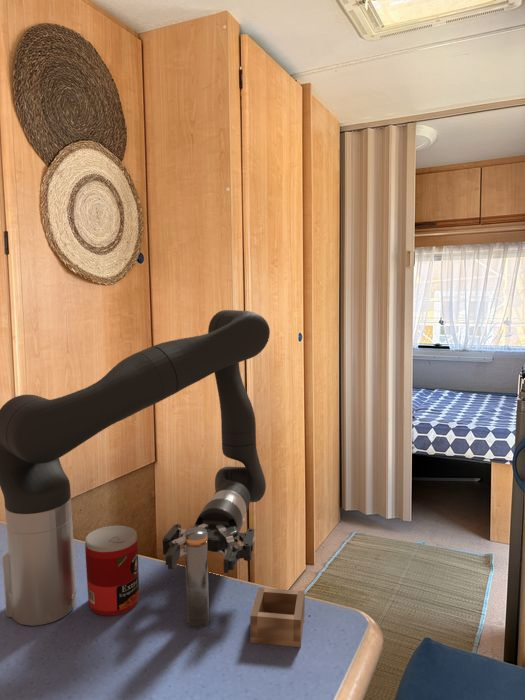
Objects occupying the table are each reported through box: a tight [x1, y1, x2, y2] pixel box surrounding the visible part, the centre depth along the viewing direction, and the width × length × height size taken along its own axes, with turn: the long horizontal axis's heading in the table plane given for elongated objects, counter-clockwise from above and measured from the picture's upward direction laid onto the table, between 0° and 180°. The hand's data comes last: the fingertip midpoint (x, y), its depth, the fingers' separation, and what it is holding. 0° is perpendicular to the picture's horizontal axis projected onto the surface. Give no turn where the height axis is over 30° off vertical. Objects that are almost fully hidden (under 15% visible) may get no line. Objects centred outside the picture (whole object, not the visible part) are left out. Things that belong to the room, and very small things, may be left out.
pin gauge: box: [184, 526, 210, 629], centre depth 78 cm, size 3×3×14 cm
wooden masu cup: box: [249, 587, 306, 648], centre depth 77 cm, size 7×7×4 cm
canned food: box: [84, 525, 140, 617], centre depth 84 cm, size 8×8×11 cm
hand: (197, 565), depth 79 cm, fingers open, 8 cm apart
